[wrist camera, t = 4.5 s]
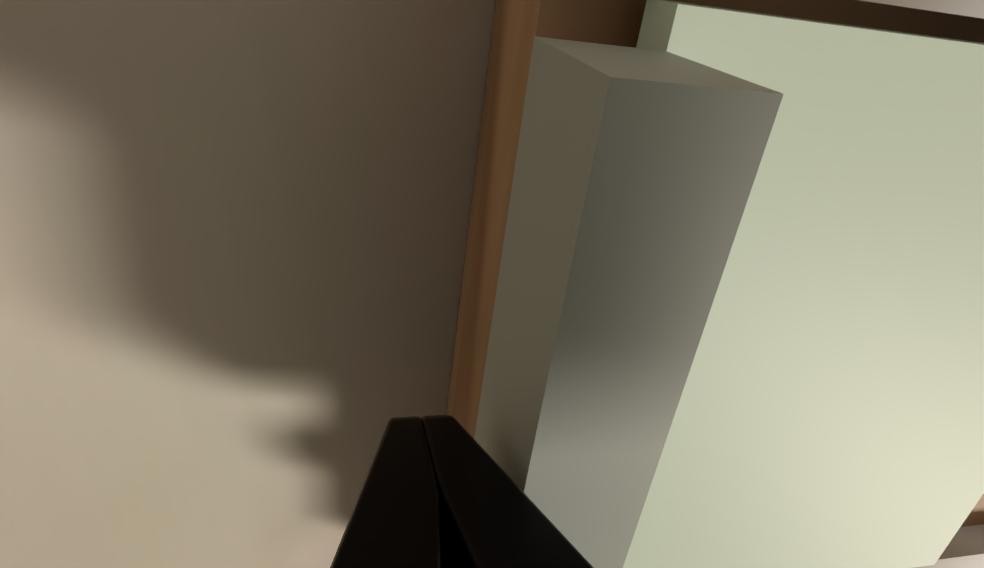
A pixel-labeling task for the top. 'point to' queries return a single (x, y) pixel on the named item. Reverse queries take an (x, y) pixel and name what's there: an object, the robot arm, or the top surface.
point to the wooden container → (617, 21)
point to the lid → (745, 294)
